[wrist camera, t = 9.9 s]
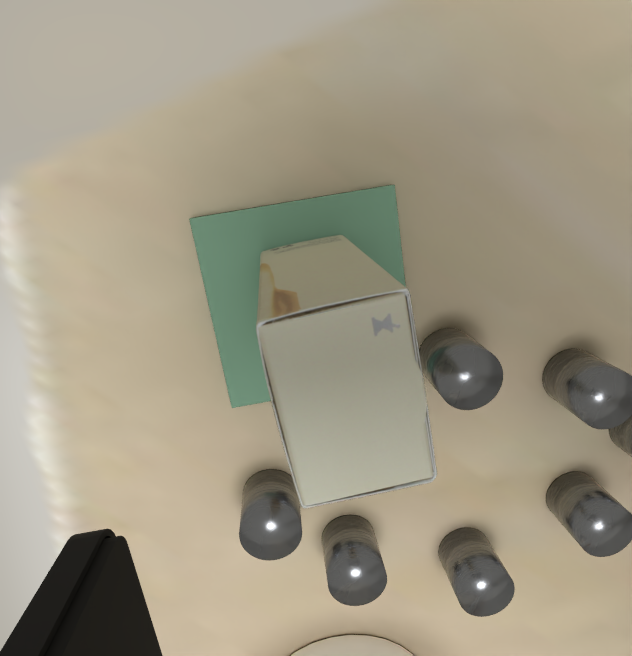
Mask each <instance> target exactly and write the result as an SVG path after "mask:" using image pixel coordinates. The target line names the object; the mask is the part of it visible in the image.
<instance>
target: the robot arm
mask: <svg viewBox="0 0 632 656" xmlns="http://www.w3.org/2000/svg"><path fill="white" fill-rule="evenodd" d="M0 656H162V653H161V650H160V646H159V643H158V640H157V637H156V634H155V630H154V627H153V624H152V621H151V617H150V614H149V611H148V608H147V605H146V601H145V598H144V595H143V592H142V589H141V585H140V582H139V579H138V576H137V573H136V569H135V566H134V563H133V560H132V557H131V553H130V550H129V547H128V544H127V541H126V539H125V538H124V537H123V536H117V537H116V536H115V534H114V532H113V531H112V530H110V529H103V530H98V531H92V532H86V533H81V534H75V535H73V536H71V537H70V539H69V540H68V541H67V543H66V544H65V546H64V548H63V549H62V551H61V553H60V554H59V556H58V557H57V559H56V561H55V562H54V564H53V566H52V567H51V569H50V571H49V572H48V574H47V576H46V577H45V579H44V581H43V582H42V584H41V586H40V588H39V589H38V591H37V592H36V594H35V595H34V597H33V599H32V600H31V602H30V604H29V605H28V607H27V609H26V610H25V612H24V613H23V615H22V617H21V619H20V620H19V622H18V623H17V625H16V627H15V628H14V630H13V632H12V633H11V635H10V637H9V638H8V640H7V641H6V643H5V645H4V646H3V648H2V650H1V651H0Z"/></svg>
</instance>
